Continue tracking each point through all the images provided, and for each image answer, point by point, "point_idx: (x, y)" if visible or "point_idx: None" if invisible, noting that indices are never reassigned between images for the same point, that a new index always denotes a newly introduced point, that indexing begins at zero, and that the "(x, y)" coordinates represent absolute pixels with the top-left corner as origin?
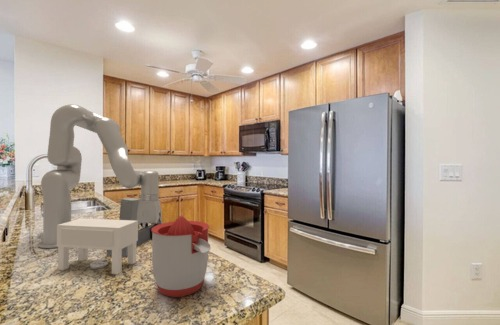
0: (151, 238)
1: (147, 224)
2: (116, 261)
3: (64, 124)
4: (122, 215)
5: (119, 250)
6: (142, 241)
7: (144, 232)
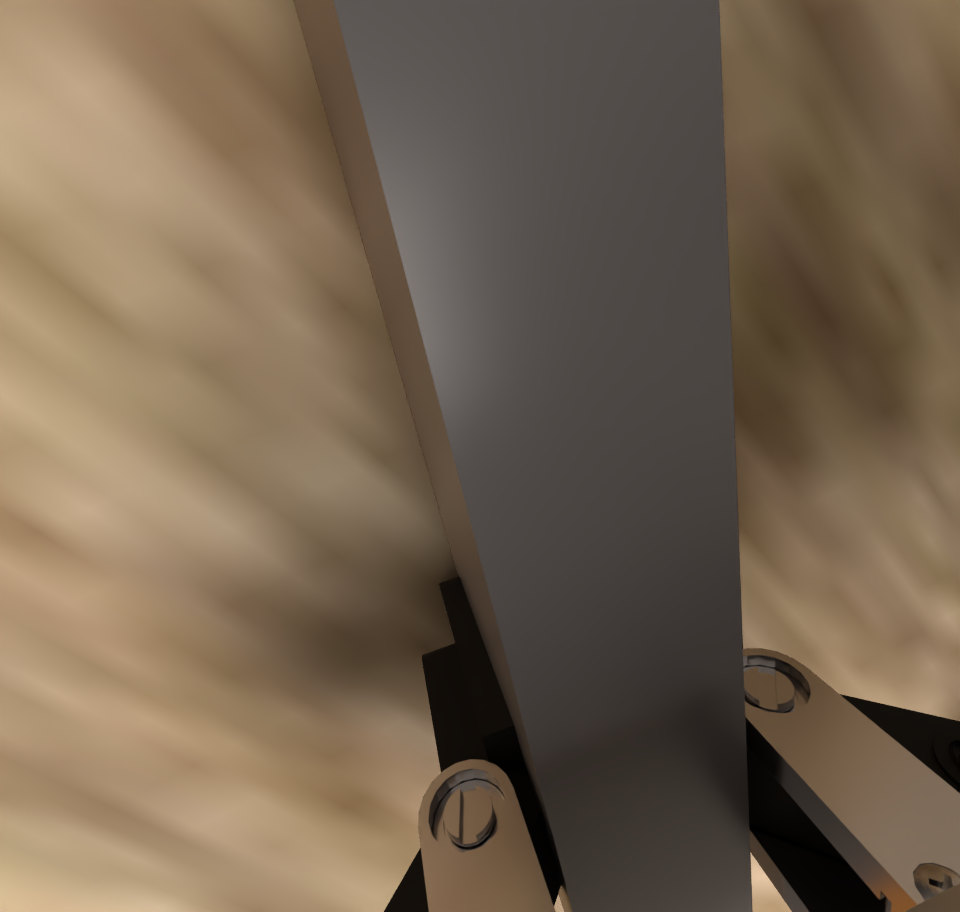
0: (442, 589)
1: (809, 902)
2: None
3: None
4: None
5: None
6: (367, 250)
7: (418, 374)
